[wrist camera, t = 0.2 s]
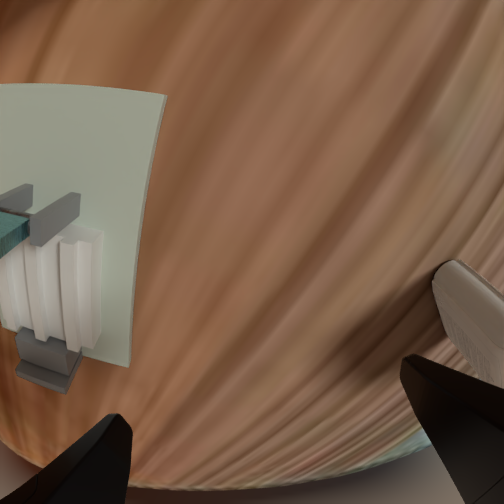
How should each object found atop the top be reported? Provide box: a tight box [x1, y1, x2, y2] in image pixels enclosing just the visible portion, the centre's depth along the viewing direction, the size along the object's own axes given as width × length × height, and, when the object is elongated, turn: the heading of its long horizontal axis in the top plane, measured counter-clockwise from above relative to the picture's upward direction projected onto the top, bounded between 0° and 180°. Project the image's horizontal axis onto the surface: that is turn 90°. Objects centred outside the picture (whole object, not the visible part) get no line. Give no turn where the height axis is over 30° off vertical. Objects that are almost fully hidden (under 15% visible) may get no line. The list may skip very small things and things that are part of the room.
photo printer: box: [432, 260, 504, 389], centre depth 20 cm, size 10×4×12 cm, turn 36°
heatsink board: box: [0, 83, 168, 394], centre depth 17 cm, size 22×14×6 cm, turn 165°
